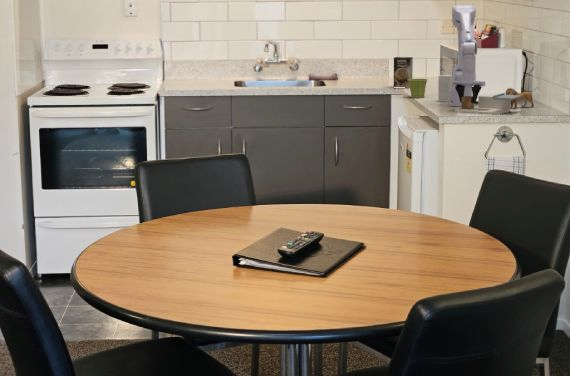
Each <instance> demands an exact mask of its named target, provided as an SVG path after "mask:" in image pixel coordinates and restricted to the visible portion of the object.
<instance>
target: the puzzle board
mask: <svg viewBox="0 0 570 376" xmlns="http://www.w3.org/2000/svg"><path fill="white" fill-rule="evenodd" d="M477 99H478V100H477V102H478V103H477V106H474V108H473V109H462V107H460V108H458V109H455V110H454V113H463V112H466V114H468V113H469V114H481V113H483V115H485V114H487V115H499V114H500V115H502V114H506V113H508V112H511V108H510V107H511V100H496V99H493V96H485V95H484V96H482V95H478V97H477Z"/></svg>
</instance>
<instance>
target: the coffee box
mask: <svg viewBox="0 0 570 376" xmlns="http://www.w3.org/2000/svg"><path fill="white" fill-rule="evenodd" d="M413 58H414V57H412V56H411V57H409V56H396V57H393V88H394V87H405V88H410V84H409V81H408V79H413V72H414V70H413V68H414V66H413V63H414V62H413V61H414V59H413Z"/></svg>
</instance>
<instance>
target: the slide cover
mask: <svg viewBox="0 0 570 376" xmlns="http://www.w3.org/2000/svg"><path fill="white" fill-rule="evenodd" d="M505 93H506V92H505ZM505 93H504V92H503V93H499V94H495V95H493V96H492V97H493V99H496V100H514V99H517V98H521V95H506V94H505Z"/></svg>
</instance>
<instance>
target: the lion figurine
mask: <svg viewBox="0 0 570 376" xmlns="http://www.w3.org/2000/svg"><path fill="white" fill-rule="evenodd" d="M505 95H521V98H517V99H514V100H511V103H510V109H514V110H515V109H517V108H518V106H517V105H518V102H519V103H520V102H522V101H523V105H521V107H522V108H525V107H526V106H527V105H528V104H527V103H530V104H531V105H530V108H534V106H535V104H534V100H533V95H532V93H531V92H529V91H524V92H518V91H516V90H515V89H514V88H513V87H508V88H506V90H505Z"/></svg>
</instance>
